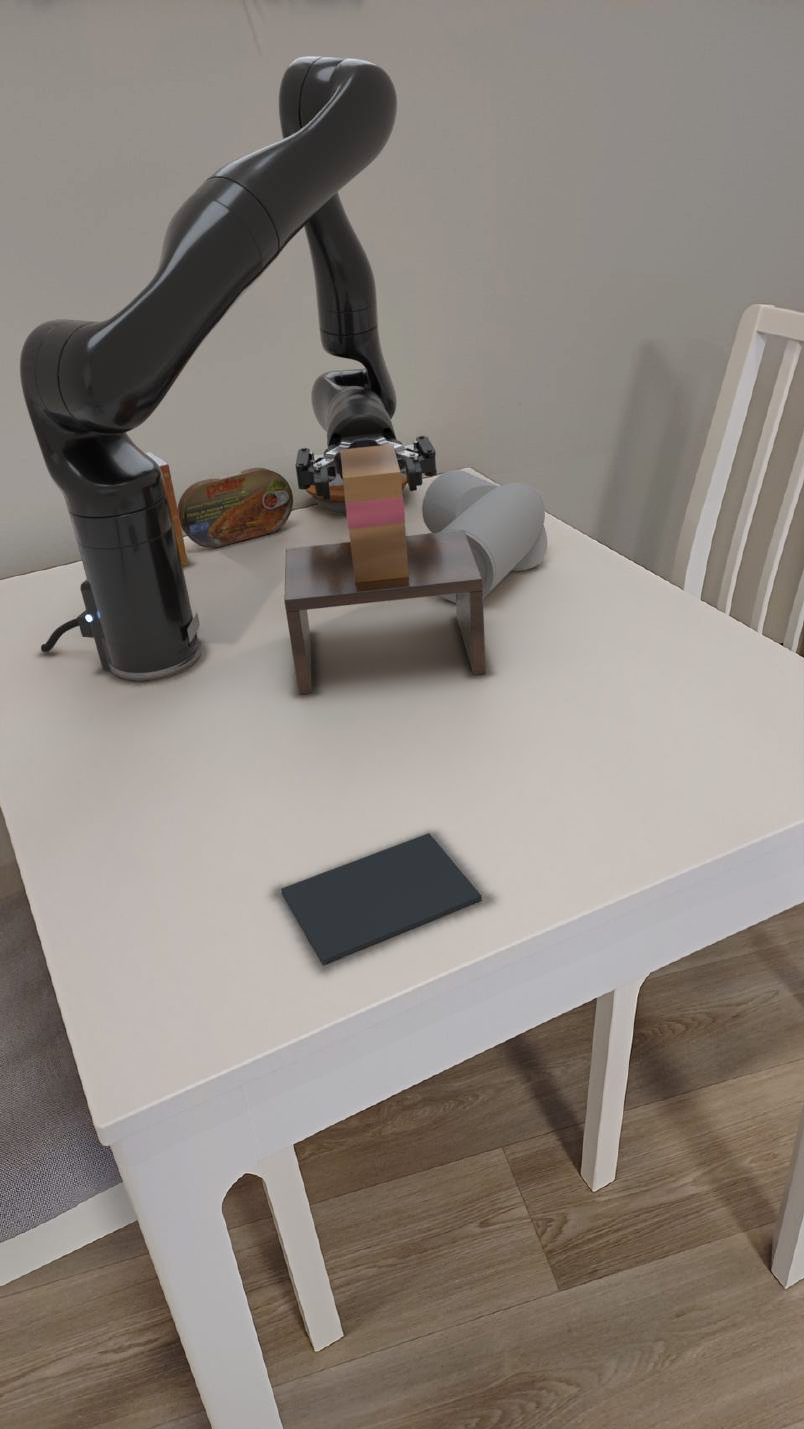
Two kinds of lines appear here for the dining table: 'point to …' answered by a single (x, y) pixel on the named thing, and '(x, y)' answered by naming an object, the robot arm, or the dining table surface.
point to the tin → (235, 507)
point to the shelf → (383, 589)
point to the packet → (375, 513)
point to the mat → (378, 897)
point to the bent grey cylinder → (489, 522)
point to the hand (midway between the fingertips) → (369, 486)
